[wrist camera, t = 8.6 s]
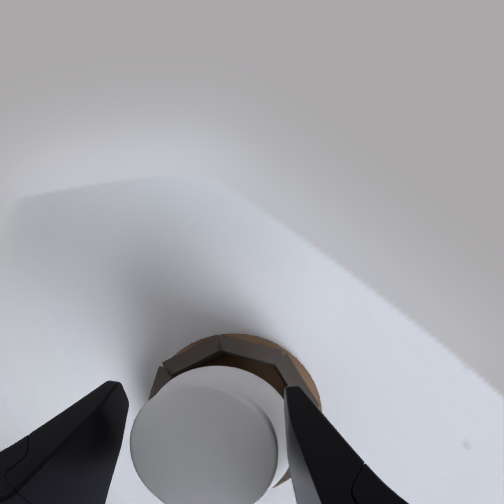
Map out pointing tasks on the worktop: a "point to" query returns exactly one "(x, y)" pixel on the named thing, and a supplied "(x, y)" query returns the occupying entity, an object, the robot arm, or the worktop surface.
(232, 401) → the supplement bottle
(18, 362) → the worktop surface
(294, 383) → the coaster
